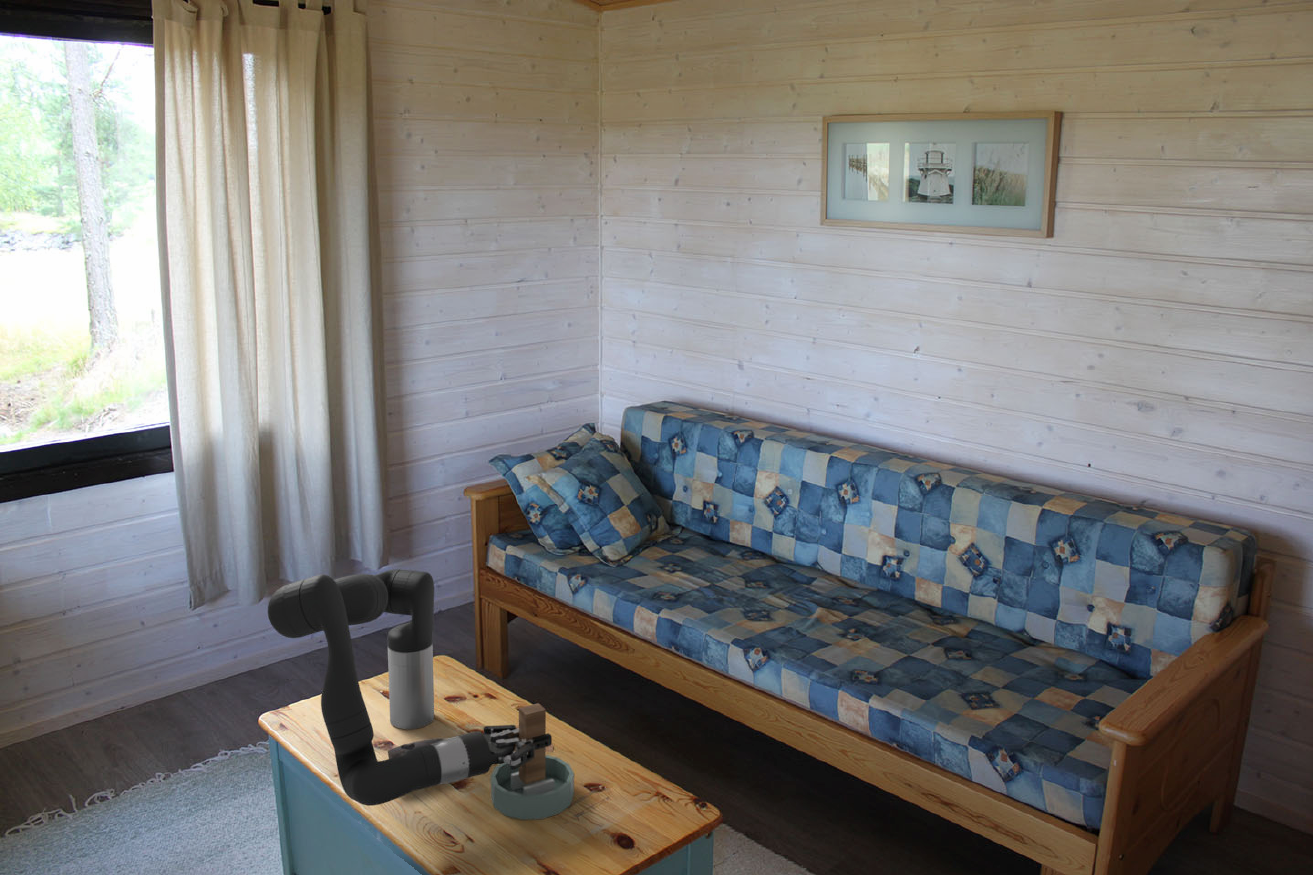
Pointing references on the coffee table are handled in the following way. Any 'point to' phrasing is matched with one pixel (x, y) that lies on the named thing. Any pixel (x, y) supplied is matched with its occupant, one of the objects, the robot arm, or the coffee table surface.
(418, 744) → the perforated stone tool
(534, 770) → the tall wooden post
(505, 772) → the slotted round holder
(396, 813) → the coffee table surface
